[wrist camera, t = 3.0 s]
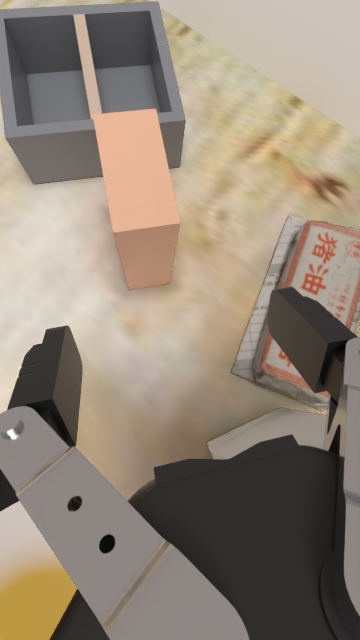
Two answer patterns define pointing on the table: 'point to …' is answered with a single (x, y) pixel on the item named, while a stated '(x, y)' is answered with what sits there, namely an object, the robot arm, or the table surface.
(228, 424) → the table surface
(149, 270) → the salmon rectangular block
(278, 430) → the skincare box
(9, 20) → the grey open tray
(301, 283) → the packaged product
